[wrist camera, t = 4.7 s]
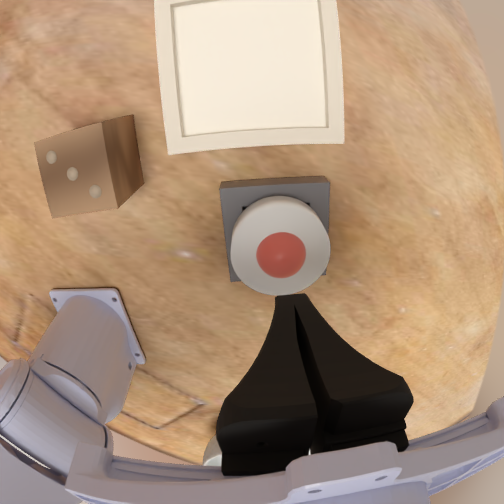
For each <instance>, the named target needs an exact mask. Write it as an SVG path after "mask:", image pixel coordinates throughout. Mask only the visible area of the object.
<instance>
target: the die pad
mask: <svg viewBox="0 0 504 504" xmlns="http://www.w3.org/2000/svg"><path fill="white" fill-rule="evenodd" d="M154 12H155V31H156V46H157V59H158V70H159V81H160V91H161V101H162V110H163V118H164V126H165V134H166V142H167V149H168V155H174V154H181V153H189V152H198V151H207V150H217V149H227V148H239V147H253V146H269V145H290V144H344V97H343V74H342V57H341V44H340V32H339V22H338V12H337V4H336V0H154Z"/></svg>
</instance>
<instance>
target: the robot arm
mask: <svg viewBox="0 0 504 504" xmlns="http://www.w3.org/2000/svg"><path fill="white" fill-rule="evenodd" d="M49 295H50V297H51V299H52V302H53V304H54V306H55V308H56V310H57V312H58V313H57V315H56V316H55V318H54V319H53V321H52V322H51V324H50V325H49V327H48V328H47V330H46V331H45V333H44V335H43V336H42V338H41V339H40V341H39V343H38V344H37V346H36V348H35V349H34V351H33V353H32V354H31V356H30V358H29V359H28V361H26V360H24V359H23V358H20V359H12V360H10V361H9V362H8V363H7V364H6V365H5V366H4V367H3V368H2V369H1V370H0V434H1V435H2V436H3V437H5V438H6V439H7V440H9V441H10V442H11V443H13V444H14V445H15V446H17V447H18V448H20V449H21V450H22V451H24V452H25V453H27V454H28V455H30V456H31V457H33V458H34V459H36V460H37V461H39V462H41V463H42V464H44V465H45V466H47V467H49V468H50V469H48V468H46V467H43V466H41V465H40V464H38V463H37V462H35V461H34V460H32V459H30V458H29V457H27V456H26V455H25V454H23V453H22V452H20V451H19V450H17V449H16V448H14V447H13V446H12V445H10V444H9V443H8V442H6V441H5V440H4V439H2V438H1V437H0V504H79V503H81V502H82V501H85V502H86V503H88V504H431V502H430V499H429V496H430V495H433V494H435V493H437V492H439V491H442V490H444V489H446V488H448V487H450V486H452V485H454V484H456V483H458V482H460V481H462V480H464V479H466V478H468V477H470V476H472V475H473V474H475V473H477V472H479V471H481V470H483V469H484V468H486V467H488V466H490V465H491V464H493V463H495V462H496V461H498V460H500V459H501V458H503V457H504V396H503V397H501V398H499V399H497V400H496V401H494V402H493V403H492V404H491V405H490V406H489V407H488V409H487V410H486V412H484V413H482V414H480V415H477V416H475V417H473V418H471V419H468V420H466V421H463V422H461V423H458V424H456V425H453V426H450V427H448V428H445V429H442V430H440V431H437V432H434V433H431V434H428V435H425V436H422V437H419V438H416V439H412V440H409V441H408V439H407V436H406V433H405V430H404V429H406V423H405V420H404V418H405V417H406V415H407V413H408V412H409V410H410V408H411V406H412V404H413V396H412V393H411V391H410V389H409V387H408V385H407V383H406V382H405V380H404V378H403V377H401V376H399V375H397V374H395V373H393V372H391V371H388V370H386V369H384V368H382V367H381V366H379V365H377V364H375V363H374V362H372V361H371V360H369V359H368V358H366V357H365V356H363V355H362V354H360V353H359V352H358V351H356V350H355V349H354V348H353V347H351V346H350V345H349V344H348V343H347V342H346V341H344V340H343V339H342V338H341V337H340V336H339V335H338V334H337V333H336V332H335V331H334V330H333V329H332V327H331V326H330V325H329V324H328V323H327V322H326V321H325V319H324V318H323V317H322V316H321V315H320V313H319V312H318V311H317V309H316V308H315V307H314V305H313V304H312V302H311V301H310V299H309V298H308V296H307V295H306V294H305V293H304V294H291V295H278V296H277V297H275V310H274V315H273V319H272V323H271V326H270V329H269V332H268V334H267V337H266V339H265V342H264V344H263V346H262V348H261V350H260V352H259V354H258V356H257V358H256V359H255V361H254V363H253V364H252V366H251V368H250V369H249V371H248V372H247V373H246V375H245V376H244V377H243V379H242V380H241V381H240V383H239V384H238V385H237V386H236V387H235V388H234V390H233V391H232V392H231V393H230V394H229V395H228V396H227V397H226V398H225V400H224V403H223V405H222V407H221V410H220V413H219V416H218V420H217V425H216V440H217V442H218V445H219V447H220V449H221V452H222V461H221V466H200V465H184V464H171V463H161V462H152V461H145V460H138V459H131V458H125V457H119V456H114V455H113V436H112V433H111V431H110V429H109V428H108V427H107V426H105V423H108V422H110V421H111V420H113V419H114V418H115V417H116V416H117V415H118V414H119V413H120V412H121V410H122V408H123V406H124V403H125V400H126V396H127V393H128V390H129V387H130V383H131V380H132V377H133V374H134V371H135V368H136V365H137V364H144V363H145V361H146V359H145V357H144V354H143V352H142V350H141V348H140V345H139V343H138V341H137V338H136V336H135V333H134V331H133V328H132V326H131V324H130V321H129V318H128V316H127V313H126V311H125V308H124V305H123V303H122V300H121V297H120V295H119V292H118V291H117V290H116V289H114V288H97V289H52V290H51V291H50V292H49ZM113 297H114V298H116V299H114V298H113ZM55 298H56V299H55ZM309 450H310V454H311V455H309Z"/></svg>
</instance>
